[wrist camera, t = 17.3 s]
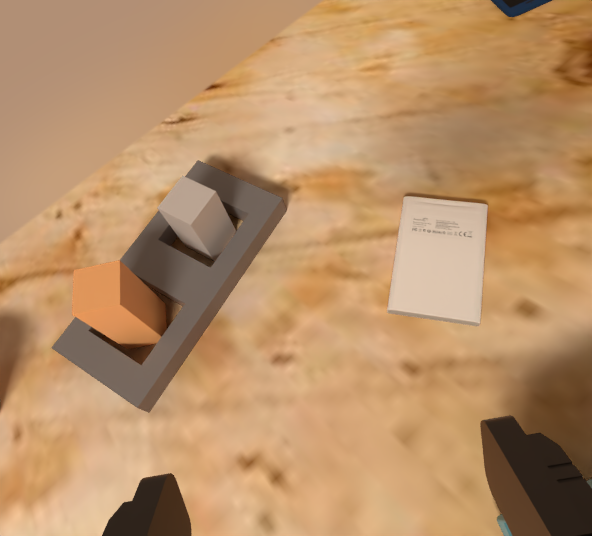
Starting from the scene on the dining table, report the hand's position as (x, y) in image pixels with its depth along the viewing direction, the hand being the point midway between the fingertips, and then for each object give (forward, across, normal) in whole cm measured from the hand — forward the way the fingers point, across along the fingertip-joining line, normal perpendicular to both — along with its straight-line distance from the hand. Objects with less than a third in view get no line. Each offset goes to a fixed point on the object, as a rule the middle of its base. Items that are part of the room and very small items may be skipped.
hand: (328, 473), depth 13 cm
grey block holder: (+37, +14, +6) cm, 40 cm away
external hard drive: (+36, -12, +9) cm, 39 cm away
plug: (+34, +18, +9) cm, 40 cm away
